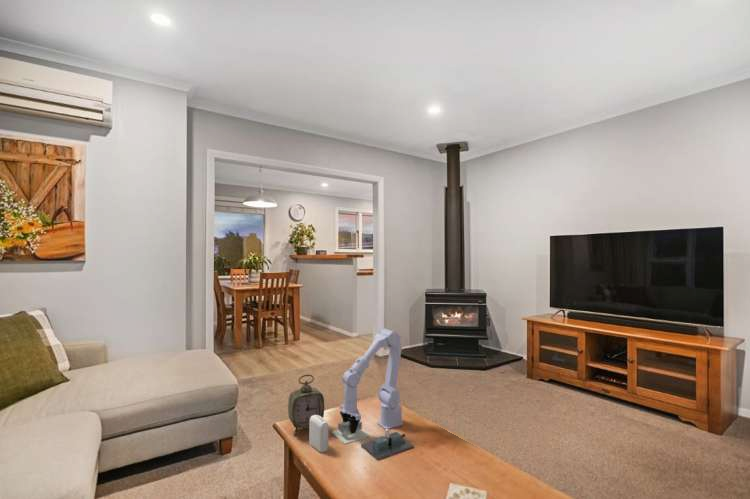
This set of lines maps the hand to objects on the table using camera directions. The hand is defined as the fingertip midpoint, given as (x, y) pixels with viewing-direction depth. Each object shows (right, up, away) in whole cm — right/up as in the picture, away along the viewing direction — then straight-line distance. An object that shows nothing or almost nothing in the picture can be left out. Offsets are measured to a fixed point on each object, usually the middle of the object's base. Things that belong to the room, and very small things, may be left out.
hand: (350, 430), depth 165 cm
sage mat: (0, -2, 0) cm, 2 cm away
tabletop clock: (-20, -2, +3) cm, 21 cm away
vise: (+16, -2, -10) cm, 19 cm away
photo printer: (-12, -2, -11) cm, 16 cm away
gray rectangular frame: (0, 0, 0) cm, 0 cm away
